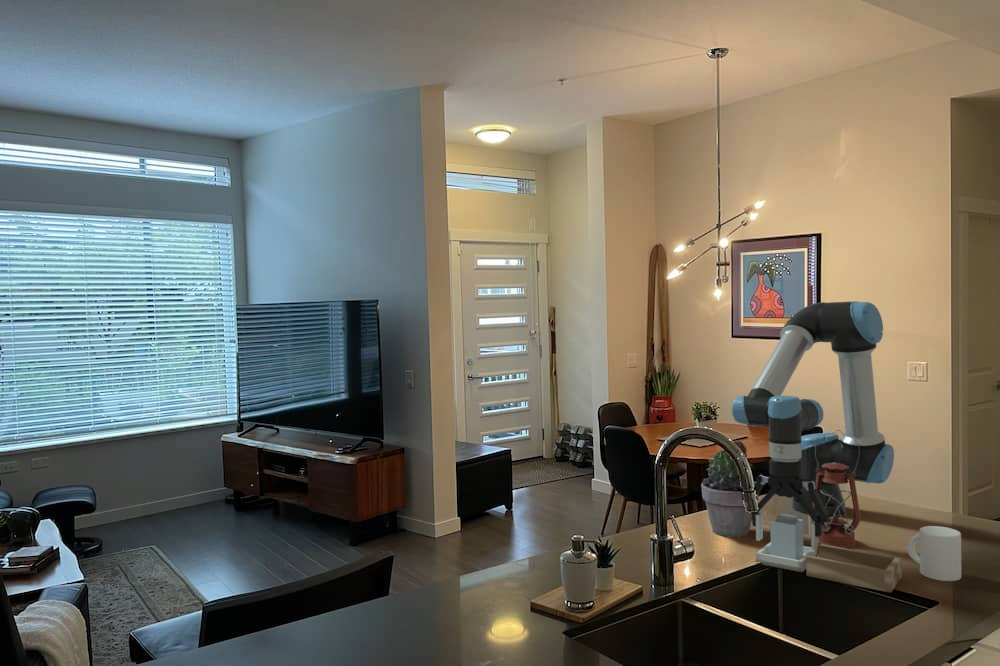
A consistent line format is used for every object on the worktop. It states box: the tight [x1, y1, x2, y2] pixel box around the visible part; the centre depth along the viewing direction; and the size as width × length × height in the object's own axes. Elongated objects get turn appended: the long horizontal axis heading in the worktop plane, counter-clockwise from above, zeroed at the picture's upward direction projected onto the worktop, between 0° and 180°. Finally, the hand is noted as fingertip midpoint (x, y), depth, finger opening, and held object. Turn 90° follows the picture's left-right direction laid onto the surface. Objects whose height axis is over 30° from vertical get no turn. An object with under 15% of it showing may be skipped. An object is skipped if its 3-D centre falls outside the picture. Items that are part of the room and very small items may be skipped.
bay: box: [805, 543, 902, 593], centre depth 171 cm, size 11×18×4 cm, turn 51°
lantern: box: [813, 429, 861, 548], centre depth 196 cm, size 10×10×30 cm
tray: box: [755, 541, 818, 573], centre depth 183 cm, size 12×11×2 cm
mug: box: [906, 525, 962, 582], centre depth 172 cm, size 8×10×12 cm
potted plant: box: [697, 440, 760, 538], centre depth 206 cm, size 18×20×25 cm
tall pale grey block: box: [770, 513, 805, 560], centre depth 183 cm, size 6×6×10 cm
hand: (786, 544), depth 183 cm, fingers open, 13 cm apart
